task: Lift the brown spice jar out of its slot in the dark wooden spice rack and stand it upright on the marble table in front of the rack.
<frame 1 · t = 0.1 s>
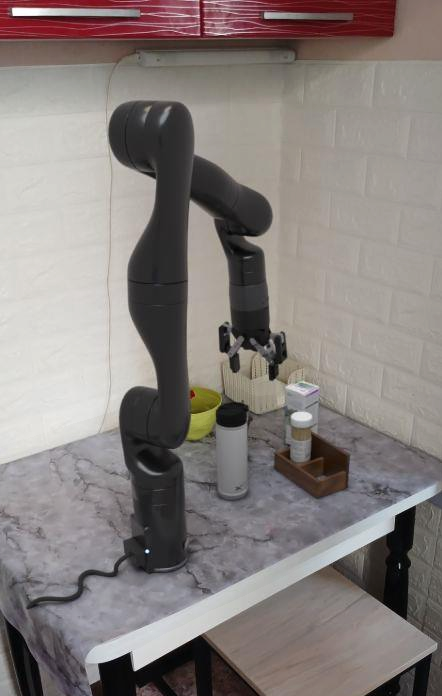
hand: (254, 375, 155), 23 cm above the table, tool pointing down, fingers open, 8 cm apart
sundae: (238, 459, 172), on the table
travel mug: (233, 493, 159), on the table
brown spice jar: (299, 471, 166), resting in spice rack
spice rack: (310, 477, 163), on the table
syrup box: (300, 444, 177), on the table
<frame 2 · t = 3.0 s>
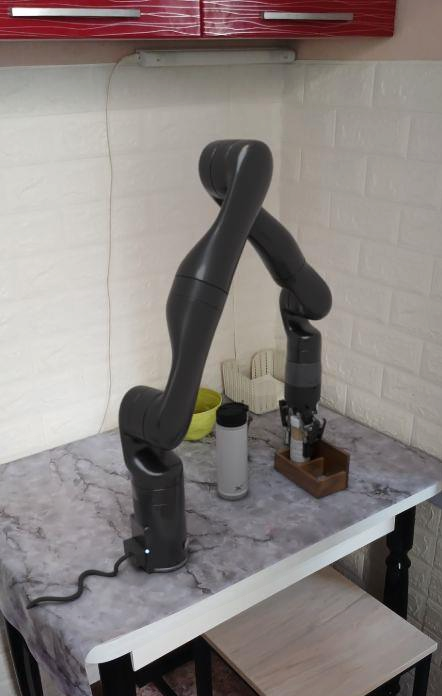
hand: (300, 451, 164), 5 cm above the table, tool pointing down, fingers closed on brown spice jar, 4 cm apart
brown spice jar: (299, 471, 166), resting in spice rack, touching gripper
everything else where it was.
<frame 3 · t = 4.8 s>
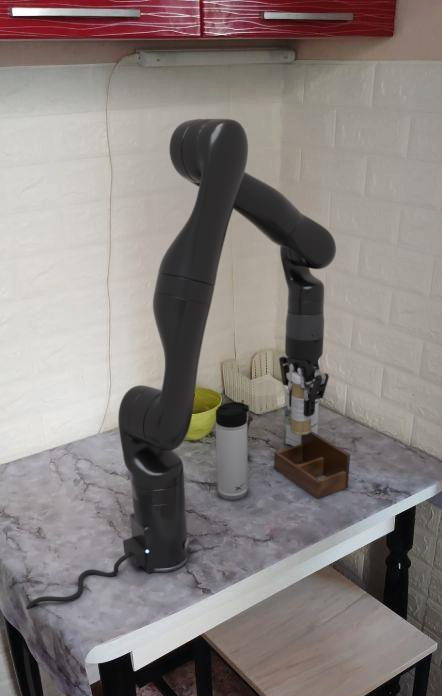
hand: (301, 410, 159), 15 cm above the table, tool pointing down, fingers closed on brown spice jar, 4 cm apart
brown spice jar: (300, 432, 161), point 10 cm above the table, touching gripper
everything else where it was.
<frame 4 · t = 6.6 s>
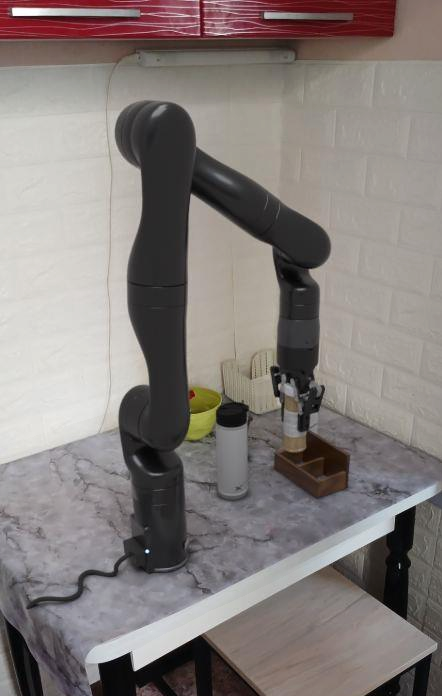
hand: (295, 425, 143), 19 cm above the table, tool pointing down, fingers closed on brown spice jar, 4 cm apart
brown spice jar: (294, 449, 145), point 14 cm above the table, touching gripper
everything else where it was.
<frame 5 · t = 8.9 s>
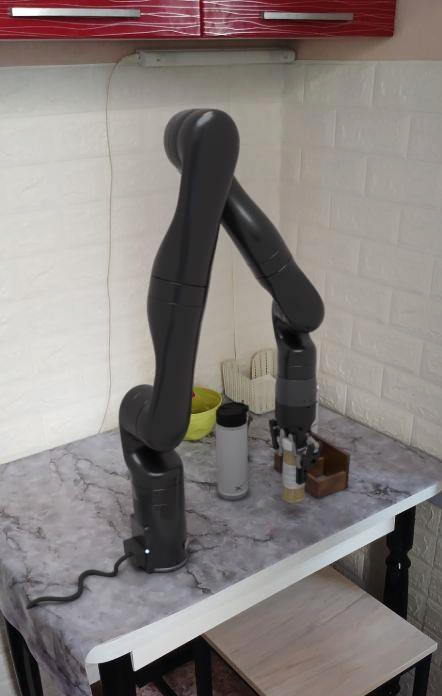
hand: (293, 477, 146), 9 cm above the table, tool pointing down, fingers closed on brown spice jar, 4 cm apart
brown spice jar: (293, 499, 149), point 4 cm above the table, touching gripper
everything else where it was.
when the fingers open (5 cm above the table, at t = 10.3 s): brown spice jar stays where it is, on the table.
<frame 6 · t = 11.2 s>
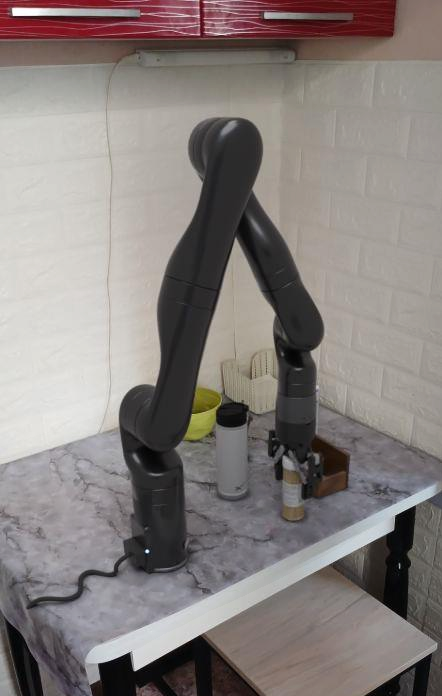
hand: (293, 488, 147), 6 cm above the table, tool pointing down, fingers open, 8 cm apart
brown spice jar: (292, 516, 151), on the table
everything else where it was.
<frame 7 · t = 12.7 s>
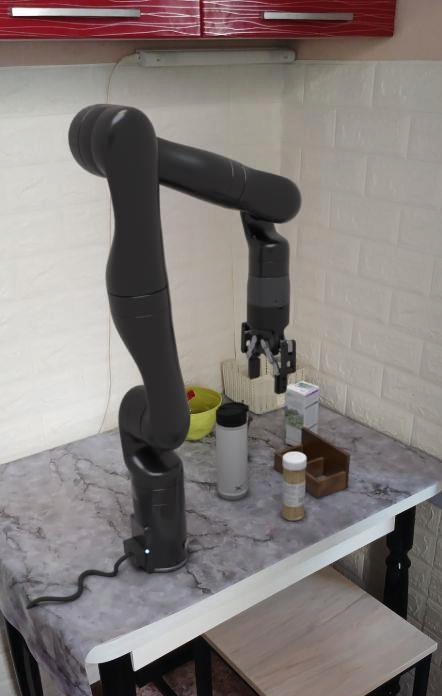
hand: (267, 385, 140), 27 cm above the table, tool pointing down, fingers open, 8 cm apart
nothing on the table moved.
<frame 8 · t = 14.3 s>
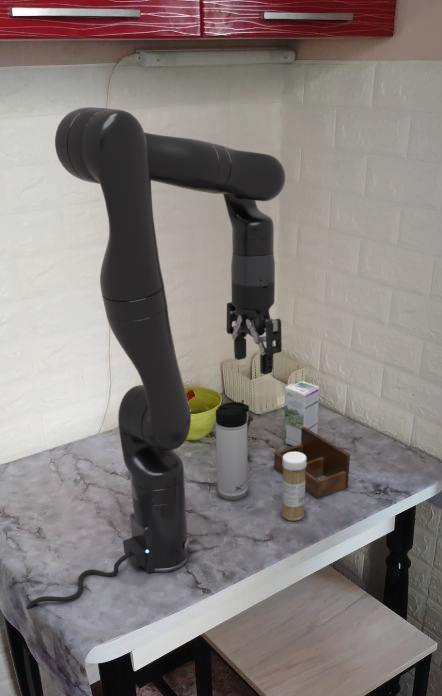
hand: (253, 365, 140), 30 cm above the table, tool pointing down, fingers open, 8 cm apart
nothing on the table moved.
at the end: brown spice jar inside the target area (0.1 cm from its centre), on the table; brown spice jar tilted 0°; the gripper is holding nothing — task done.
